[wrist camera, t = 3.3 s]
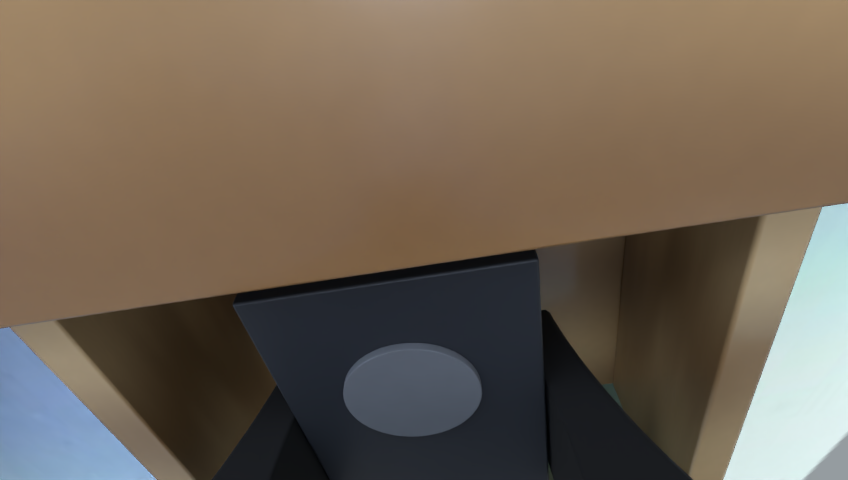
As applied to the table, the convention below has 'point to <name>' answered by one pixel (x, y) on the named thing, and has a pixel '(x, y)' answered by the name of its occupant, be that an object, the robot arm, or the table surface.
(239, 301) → the remote
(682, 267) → the drawer
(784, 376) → the table surface
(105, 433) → the table surface
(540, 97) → the cabinet
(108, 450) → the table surface
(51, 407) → the table surface
